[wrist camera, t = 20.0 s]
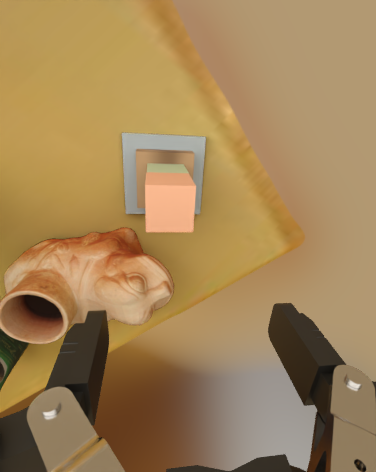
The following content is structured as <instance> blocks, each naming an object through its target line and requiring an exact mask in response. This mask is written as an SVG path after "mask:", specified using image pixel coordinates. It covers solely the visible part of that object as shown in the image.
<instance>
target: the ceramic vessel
mask: <svg viewBox="0 0 376 472" xmlns="http://www.w3.org/2000/svg"><path fill="white" fill-rule="evenodd" d="M4 284H5V290H6V295H5V296H4V298H3V299H2V300H1V301H0V328H1V329H2V330H3V331H4V332H5V333H6V334H7V335H9V336H10V337H12V338H14V339H17V340H20V341H23V342H28V343H34V344H46V343H51V342H54V341H56V340H57V339H59V338H61V337H62V336H63V335H65V333H66V332H67V330H68V328H69V326H70V324H75V323H85V319H86V316H87V313H88V311H97V310H106V312H107V321H110V320H112V319H116V320H118V321H120V322H122V323H125V324H129V325H142V324H143V323H145V322H147V321H148V320H149V319H150V318H151V316H152V314H153V311H154V310H157V309H159V308H161V307H163V306H164V305H165V304H166V303H168V302H169V300H170V299H171V297H172V295H173V291H174V284H173V280H172V277H171V275H170V273H169V271H168V270H167V269H166V268H165V266H164V265H163V264H162V263H161V262H160V261H158V260H157V259H156V258H154V257H152V256H150V255H147V254H144V253H143V250H142V248H141V245H140V243H139V241H138V238H137V235H136V234H135V232H134V231H133V230H132V229H129V228H120V229H117V230H115V231H112V232H107V233H98V232H93V233H89V234H88V235H86V236H83V237H78V238H69V239H49V240H45V241H42V242H41V243H39V244H37V245H35V246H34V247H32V248H30V249H29V250H27V251H26V252H24V253H23V254H22V255H21V256H20V257H19V258H18V259H17V260H16V261H15V262H14V263H13V264H12V265H11V266H10V267H9V268H8V269H7V271H6V273H5V275H4Z"/></svg>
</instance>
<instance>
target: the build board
mask: <svg viewBox="0 0 376 472" xmlns="http://www.w3.org/2000/svg"><path fill="white" fill-rule="evenodd" d="M205 143H206V137H205V136H185V135H164V134H143V133H122V146H123V166H124V186H125V207H126V214H146V211H145V208H137V179H136V149H159V150H184V151H192V152H193V153H194V154H195V155H194V171H193V182H194V183H195V185H196V197H195V212H194V214H200V209H201V195H202V182H203V169H204V156H205Z"/></svg>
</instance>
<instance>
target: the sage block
mask: <svg viewBox="0 0 376 472" xmlns="http://www.w3.org/2000/svg"><path fill="white" fill-rule="evenodd" d="M147 172H157V173H189V172H188V171H187V169H186V167H185V166H184V164H152V163H147Z"/></svg>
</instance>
